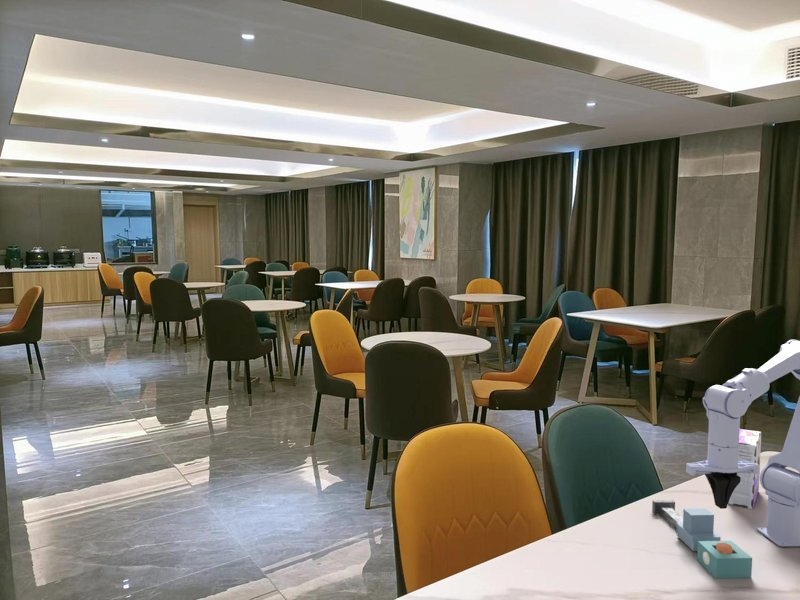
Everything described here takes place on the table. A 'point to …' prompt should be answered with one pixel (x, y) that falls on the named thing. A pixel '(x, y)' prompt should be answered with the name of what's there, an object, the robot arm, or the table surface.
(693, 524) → the carriage
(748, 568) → the teal button housing
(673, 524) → the rail
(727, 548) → the plunger
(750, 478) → the candy box
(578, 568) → the table surface
